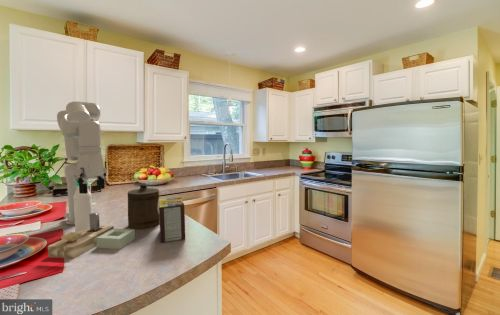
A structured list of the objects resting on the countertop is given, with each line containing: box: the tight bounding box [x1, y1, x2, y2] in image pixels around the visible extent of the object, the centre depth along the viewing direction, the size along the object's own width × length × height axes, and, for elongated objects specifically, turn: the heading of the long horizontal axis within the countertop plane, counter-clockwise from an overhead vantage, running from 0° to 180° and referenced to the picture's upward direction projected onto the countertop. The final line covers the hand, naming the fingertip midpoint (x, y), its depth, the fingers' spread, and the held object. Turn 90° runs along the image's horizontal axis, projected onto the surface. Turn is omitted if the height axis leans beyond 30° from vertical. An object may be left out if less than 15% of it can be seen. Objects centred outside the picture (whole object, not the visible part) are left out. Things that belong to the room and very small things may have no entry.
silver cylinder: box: [89, 212, 101, 232], centre depth 105 cm, size 4×4×11 cm
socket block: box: [47, 225, 115, 259], centre depth 100 cm, size 10×22×5 cm, turn 173°
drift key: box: [60, 231, 81, 243], centre depth 94 cm, size 4×4×5 cm
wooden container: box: [127, 182, 160, 231], centre depth 124 cm, size 15×15×22 cm
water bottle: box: [73, 180, 93, 233], centre depth 114 cm, size 7×7×25 cm
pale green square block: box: [96, 228, 136, 250], centre depth 101 cm, size 10×10×5 cm
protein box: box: [159, 197, 186, 244], centre depth 112 cm, size 10×15×16 cm
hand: (92, 190), depth 104 cm, fingers open, 9 cm apart
